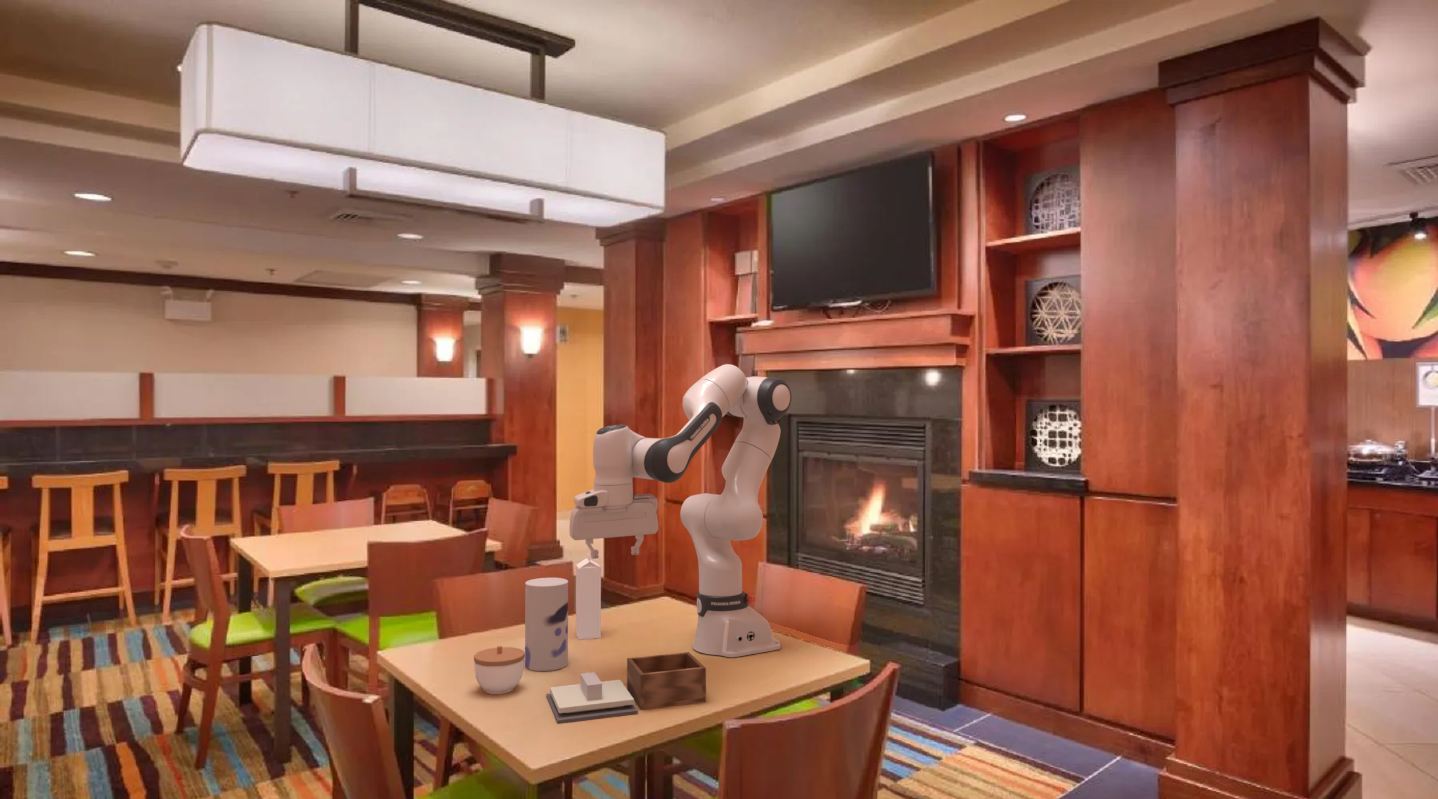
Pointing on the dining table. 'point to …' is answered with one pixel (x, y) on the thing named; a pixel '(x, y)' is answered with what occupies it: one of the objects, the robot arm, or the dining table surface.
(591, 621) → the milk
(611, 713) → the mat
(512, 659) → the lidded jar
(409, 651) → the dining table surface
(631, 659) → the box
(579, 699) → the lid
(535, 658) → the container
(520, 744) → the dining table surface
